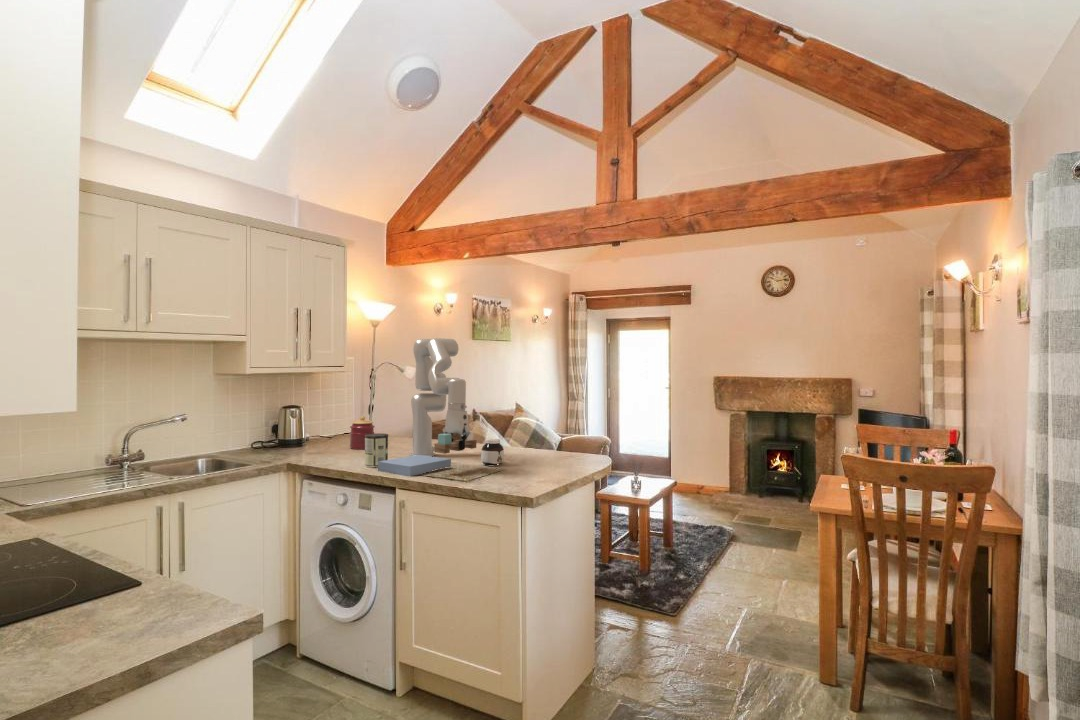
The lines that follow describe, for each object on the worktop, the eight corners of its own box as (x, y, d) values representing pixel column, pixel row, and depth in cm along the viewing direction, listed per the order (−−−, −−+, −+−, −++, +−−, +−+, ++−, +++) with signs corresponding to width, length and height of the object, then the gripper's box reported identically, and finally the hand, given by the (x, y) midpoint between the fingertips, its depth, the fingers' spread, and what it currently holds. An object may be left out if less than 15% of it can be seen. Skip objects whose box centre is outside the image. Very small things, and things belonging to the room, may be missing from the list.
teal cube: (444, 442, 242) (444, 433, 241) (451, 443, 239) (451, 434, 239) (437, 443, 238) (438, 434, 238) (444, 444, 236) (444, 435, 236)
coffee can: (375, 463, 262) (375, 432, 263) (392, 464, 258) (393, 434, 258) (359, 466, 253) (359, 435, 253) (377, 468, 249) (377, 436, 249)
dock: (419, 463, 262) (419, 454, 263) (450, 467, 251) (450, 459, 251) (378, 470, 243) (378, 461, 243) (410, 476, 231) (410, 466, 231)
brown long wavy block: (466, 446, 254) (466, 438, 254) (476, 447, 251) (476, 440, 251) (434, 452, 238) (434, 443, 238) (444, 453, 235) (444, 445, 235)
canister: (345, 449, 306) (345, 416, 306) (356, 446, 318) (357, 414, 319) (367, 450, 303) (368, 417, 304) (378, 446, 316) (378, 415, 316)
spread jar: (488, 467, 254) (488, 441, 254) (474, 463, 263) (474, 438, 263) (509, 464, 262) (509, 439, 262) (494, 461, 270) (495, 437, 271)
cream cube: (466, 439, 253) (466, 430, 253) (473, 440, 251) (473, 431, 251) (460, 440, 250) (460, 431, 250) (467, 441, 247) (467, 431, 247)
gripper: (477, 408, 243) (476, 449, 243) (448, 405, 252) (447, 445, 252) (465, 409, 236) (464, 452, 237) (436, 406, 246) (435, 447, 246)
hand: (455, 448), depth 245 cm, fingers closed on brown long wavy block, 6 cm apart
